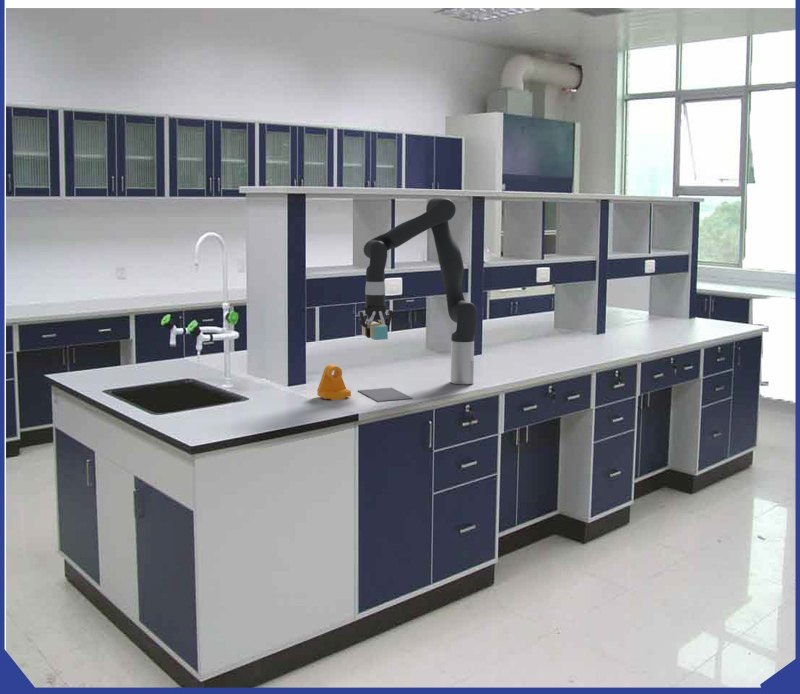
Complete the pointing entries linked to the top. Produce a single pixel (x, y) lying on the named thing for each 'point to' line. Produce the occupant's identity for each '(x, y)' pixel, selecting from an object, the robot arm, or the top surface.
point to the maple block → (377, 331)
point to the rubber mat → (385, 394)
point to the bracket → (332, 384)
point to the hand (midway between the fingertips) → (375, 337)
